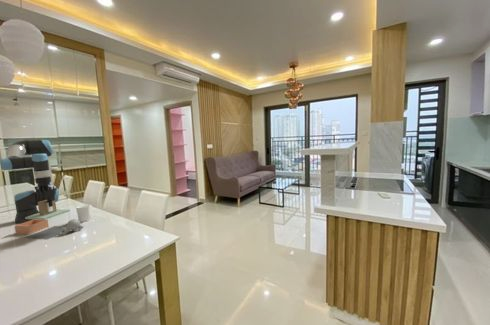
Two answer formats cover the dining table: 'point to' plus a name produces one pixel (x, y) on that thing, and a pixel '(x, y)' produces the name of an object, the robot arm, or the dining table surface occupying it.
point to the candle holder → (84, 212)
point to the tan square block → (31, 226)
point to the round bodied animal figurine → (71, 226)
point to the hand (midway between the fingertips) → (48, 211)
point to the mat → (47, 233)
